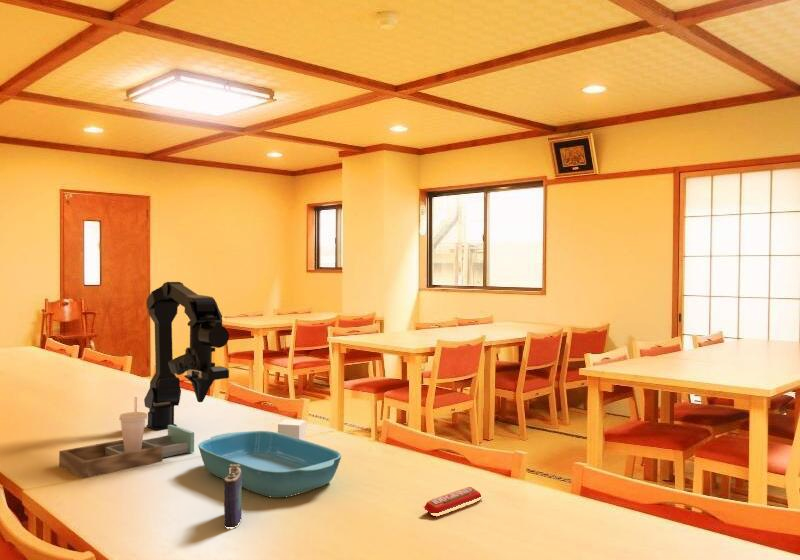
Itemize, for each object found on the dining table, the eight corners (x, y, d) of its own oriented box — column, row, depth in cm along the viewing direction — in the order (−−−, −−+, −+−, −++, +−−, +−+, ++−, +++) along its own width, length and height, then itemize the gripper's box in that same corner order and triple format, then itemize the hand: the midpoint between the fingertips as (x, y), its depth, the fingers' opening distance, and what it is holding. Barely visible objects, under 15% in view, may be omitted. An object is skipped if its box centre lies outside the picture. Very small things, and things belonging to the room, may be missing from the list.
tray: (171, 443, 179) (171, 424, 179) (194, 451, 171) (194, 432, 171) (103, 456, 166) (104, 436, 165) (125, 466, 158) (125, 445, 158)
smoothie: (145, 456, 163) (146, 399, 163) (117, 457, 161) (117, 400, 161) (147, 449, 169) (148, 394, 169) (120, 450, 167) (120, 395, 167)
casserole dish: (359, 485, 149) (360, 453, 149) (281, 511, 132) (281, 476, 132) (258, 452, 173) (258, 425, 173) (180, 471, 156) (181, 441, 156)
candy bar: (433, 521, 129) (434, 506, 129) (420, 516, 132) (420, 501, 131) (485, 502, 140) (485, 487, 140) (471, 497, 143) (472, 483, 143)
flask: (228, 511, 131) (229, 457, 131) (243, 510, 132) (244, 457, 132) (222, 530, 122) (223, 472, 122) (238, 529, 123) (239, 471, 122)
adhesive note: (277, 446, 179) (277, 424, 179) (284, 440, 185) (285, 419, 185) (299, 447, 178) (299, 425, 178) (305, 441, 184) (305, 420, 184)
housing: (136, 450, 173) (136, 436, 173) (162, 460, 164) (162, 446, 164) (59, 465, 158) (59, 451, 158) (82, 478, 150) (82, 462, 150)
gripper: (155, 342, 179) (154, 400, 179) (192, 349, 166) (191, 412, 166) (192, 340, 187) (192, 395, 187) (230, 346, 174) (229, 405, 175)
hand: (200, 402), depth 179 cm, fingers closed
